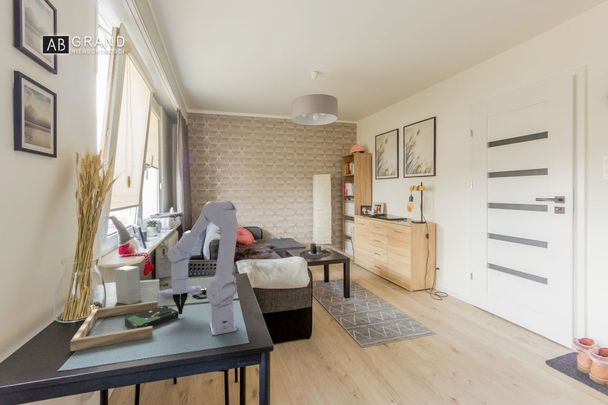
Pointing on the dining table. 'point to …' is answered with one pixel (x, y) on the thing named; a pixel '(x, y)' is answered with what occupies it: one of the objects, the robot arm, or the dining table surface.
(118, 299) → the skincare box
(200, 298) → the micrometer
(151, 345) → the dining table surface
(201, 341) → the dining table surface
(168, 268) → the coffee box
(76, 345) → the bay
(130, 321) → the disk drive
